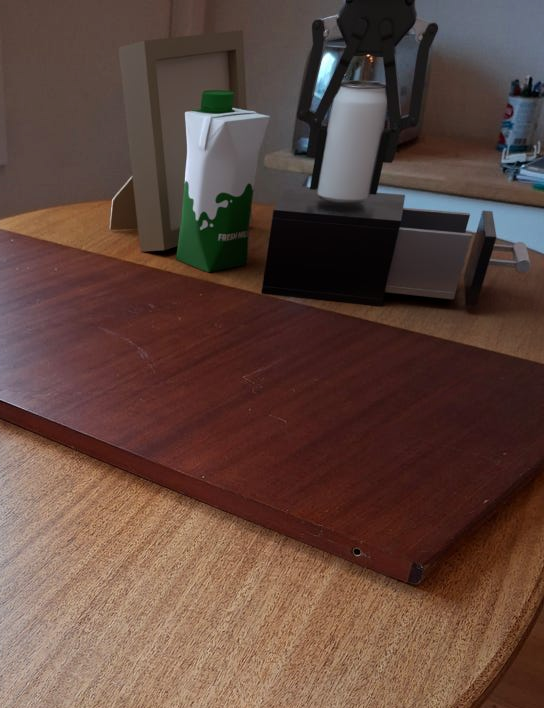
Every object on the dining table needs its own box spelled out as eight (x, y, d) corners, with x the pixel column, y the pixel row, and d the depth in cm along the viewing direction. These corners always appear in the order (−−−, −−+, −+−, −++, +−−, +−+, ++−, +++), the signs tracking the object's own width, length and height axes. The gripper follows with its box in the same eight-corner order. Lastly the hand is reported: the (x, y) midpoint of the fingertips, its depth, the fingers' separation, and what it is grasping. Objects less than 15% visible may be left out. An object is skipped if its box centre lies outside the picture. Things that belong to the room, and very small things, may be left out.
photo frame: (251, 228, 136) (277, 32, 120) (163, 257, 123) (179, 44, 108) (175, 211, 144) (190, 25, 128) (86, 237, 131) (90, 35, 115)
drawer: (512, 280, 113) (534, 214, 108) (518, 311, 104) (542, 241, 99) (366, 265, 118) (380, 201, 113) (359, 294, 108) (374, 226, 103)
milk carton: (213, 249, 126) (231, 87, 114) (257, 265, 121) (281, 96, 108) (166, 259, 123) (179, 92, 110) (208, 276, 117) (227, 102, 104)
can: (360, 206, 105) (384, 89, 97) (308, 199, 107) (327, 84, 100) (375, 195, 109) (399, 82, 102) (325, 189, 112) (345, 78, 104)
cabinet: (387, 274, 118) (405, 194, 112) (381, 306, 108) (401, 220, 102) (276, 263, 122) (288, 185, 115) (261, 293, 112) (273, 209, 105)
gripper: (484, -48, 94) (426, 189, 108) (300, -51, 98) (269, 177, 113) (487, -47, 88) (425, 203, 103) (292, -50, 93) (259, 189, 107)
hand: (343, 189), depth 108 cm, fingers closed on can, 6 cm apart
